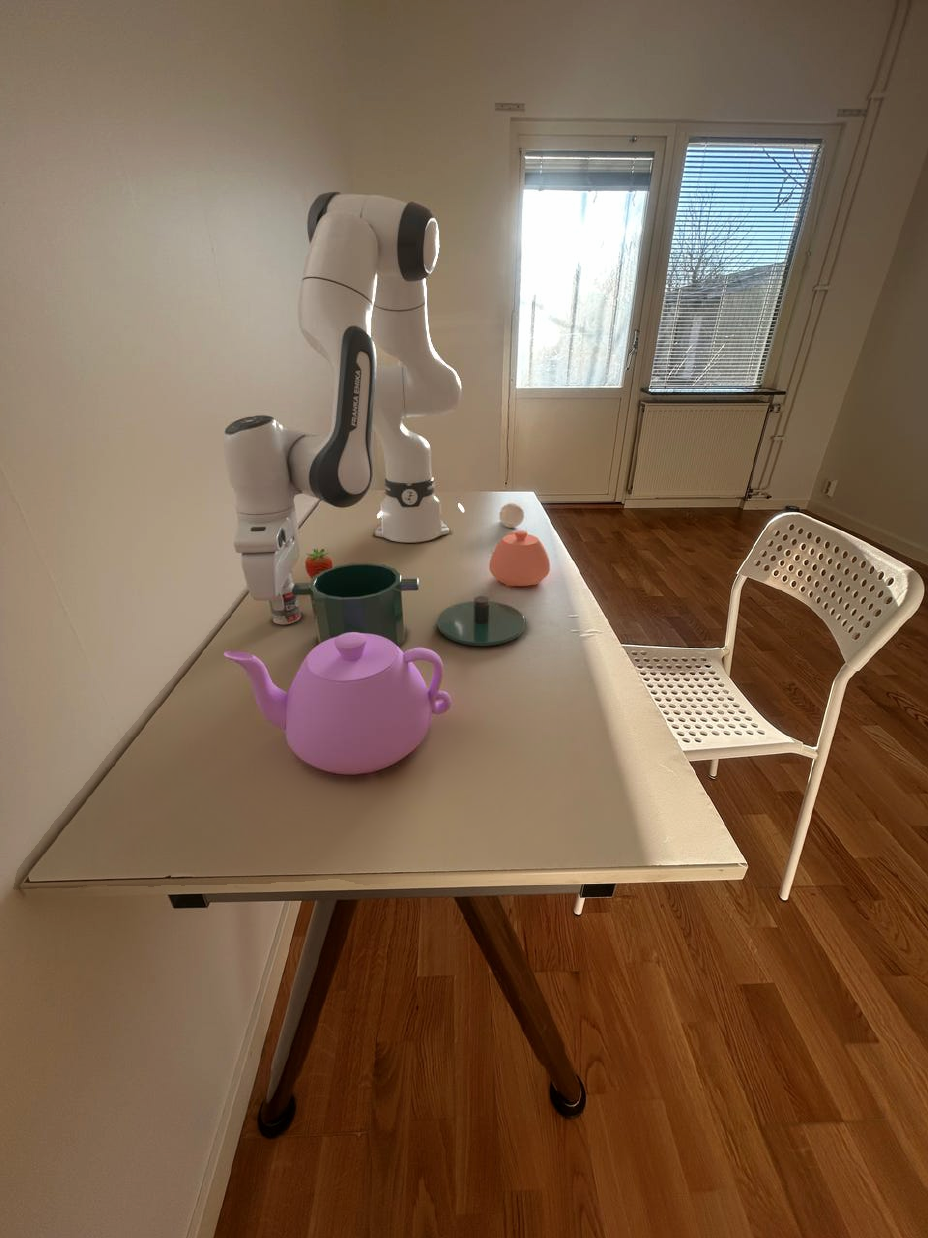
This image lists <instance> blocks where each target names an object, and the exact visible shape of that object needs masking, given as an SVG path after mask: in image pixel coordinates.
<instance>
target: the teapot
mask: <svg viewBox="0 0 928 1238" xmlns="http://www.w3.org/2000/svg"><path fill="white" fill-rule="evenodd" d="M223 655H224V657H226V658H227V659H228V660H230V661H232V662H234V663H236V664H237V665H239V666H240V667H241V668H242V669H243V670H244V671H245V673H246V674H247V676H248V678H249V680H250V683H251V686H252V690H253V693H254V699H255V702H256V705H257V707H258V710H259V712H260V714H261V715H262V716H263V718H264V719H265V720H266V721H267V722H268V723H269V724H271V725H272V726H274V727H276V728H278V729H279V730H281V731H283V732H284V733H285V739H286V742H287V745H288V747H290V749H291V750H292V752H293V753H294V754H295V755H296V756H297V757H298V758H299V759H300V760H302V761H303V762H304V763H306V764H308V765H309V766H312V767H314V768H316V769H318V770H322V771H325V772H328V773H333V774H337V775H346V776H348V775H349V776H350V775H351V776H354V775H355V776H356V775H363V774H370V773H374V772H377V771H380V770H381V771H382V770H383V769H386V768H388V767H391V766H393V765H394V764H397V763H398V762H399V761H401V760H402V759H404V758H406V757H407V756H408V755H409V754H410V753H411V752H413V751H414V750H415V749H416V748H417V747H418V746H419V745H420V743H422V741H423V740H424V739H425V737H426V736H427V734H428V731H429V729H430V727H431V724H432V720H433V714H434V715H442V714H444V713H446V712H448V711H449V710H450V708H451V705H452V697H451V695H450V694H449V693H448V692H447V691H444V690H440V688H441V684H442V681H443V676H444V663H443V660H442V658H441V657H440V655H439V654H438V653H437V652H435V651H434V650H432V649H430V648H425V647H414V648H410V649H408V650H405V651H404V652H403V650H402V649H401V648H400V646H399V647H398V646H396V645H395V644H394V643H393V642H392V641H390V640H388V639H386V638H384V637H382V636H379V635H374V634H366V633H357V632H350V633H345V634H342V635H340V636H338V637H334V638H331V639H329V640H326V641H324V642H322V643H321V644H319V643H318V645H316V646H315V647H314V648H312V649H311V650H310V651H309V652H308V654H307V655H306V657H305V658H304V659H303V661H302V663H301V665H300V666H299V668H298V670H297V673H296V674H295V677H294V678H293V680H292V682H291V684H290V688H289V690H288V691H285V690H283V689H281V688H279V687H278V686H277V685H276V684H275V683H274V682H273V680H272V678H271V676H270V674H269V671H268V669H267V667H266V666H265V664H264V662H263V661H262V660H261V659H260V658H258V657H257V656H255V655H254V654H251V653H248V652H244V651H240V650H239V651H238V650H227V651H224V652H223ZM416 661H424V662H425V661H426V662H429V663H431V664H432V665H433V675H432V679H431V681H430V685H429V688H428V686H427V684H426V682H425V680H424V678H423V676H422V674H421V673H420V671H419V670H418V668H417V667H416V665H415V664H414V663H413V662H416ZM439 700H442V701H439ZM437 701H439V702H437Z"/></svg>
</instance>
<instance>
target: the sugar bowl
mask: <svg viewBox="0 0 928 1238" xmlns="http://www.w3.org/2000/svg"><path fill="white" fill-rule="evenodd" d="M488 566H489V567H488V569H489V571H490V573H491V575H492V576H493V578H495V580H497V581H498V582H500V583H502V584H504V585H505V587H509V588H512V587H527V586H537V585H538V584H539V583H541V582H542V581H543V580H544V579H545V578H547V576H548V575H549V574H550V571H551V563H550V558H549V554H548V553H547V550H546V549H545V547H544V545H543V543H542V541H541V540H540V539H539V537H537V536H535V535H533V534H528V531H527V530H522V529H519V530H515V531H514V530H513V531H510V532H509V533H508V534H507V535H505V536H503V537H502V538H501V539H500V541H499V542H498V544H497V545H496V547H495V548H494V549H493V552H492V553H491V557H490V560H489V565H488Z"/></svg>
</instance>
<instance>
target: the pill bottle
mask: <svg viewBox="0 0 928 1238" xmlns="http://www.w3.org/2000/svg"><path fill="white" fill-rule="evenodd" d="M294 584H295V583H293V576H292V577H291V574H289V576H288V578H287V580H286V582H285V583H284V585H283V587H282V592H281V594H282V597H284V599H285V604H286V605H285V607H284V610H282V611H275V610H273V606H272V602H271V601H270V600H268V604H269V608H270V612H271V618H272V621H273V622H274V623H275V624H277V625H284V626H285V625H291V624H293V623H295V622H297V621H299V620H300V619H301V611H300V605H299V599H298V595H293V593H292V588H293V586H294Z"/></svg>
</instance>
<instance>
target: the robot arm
mask: <svg viewBox="0 0 928 1238" xmlns="http://www.w3.org/2000/svg"><path fill="white" fill-rule="evenodd" d="M307 213H308V214H307V221H306V226H307V227H306V228H307V230H306V231H307V238H308V242H309V248H308V251H307V255H306V259H305V263H304V266H303V273H302V278H301V281H300V289H299V294H298V305H297V306H298V307H297V318H298V326H299V330H300V331H301V333H302V335H303V337H304V338H305V341H306V342H307V343H308V344H309V346H310V347H311V348H312V349H313V350H314V351H316V353H318V354H319V356H321V357H323V358H324V359H326V361H327V362H328V364H329V365H330V367H331V370H332V373H333V397H332V407H331V408H332V409H331V419H330V420H331V421H330V430H329V433H328V434H327V436H326V437H324V436H320V435H316V434H312V433H311V434H310V433H308V432H307V433H306V432H303V431H300V430H297V429H294V428H291V427H289V426H287V425H285V424H283V423H282V422H279V421H277V420H276V419H275V417H273V416H271V415H265V414H260V415H258V414H257V415H254V416H245V417H242V418H239V419H236V420H235V421H232V422H231V423H230V424H228V425H227V427H226V428H225V430H224V434H223V451H224V459H225V465H226V471H227V475H228V480H229V484H230V485H231V487H232V488H233V491H234V495H235V512H236V516H237V526H236V528H237V529H236V532H235V535H234V538H233V548H234V551H235V553H237V554H241V555H240V562H241V568H242V572H243V576H244V580H245V583H246V586H247V590H248V593H249V595H250V597H251V599H253V600H254V601H256V602H260V601H261V602H262V601H263V602H264V601H269V600H270V601H271V602H272V606H273V610H275V611H282V610H284V607H285V605H286V604H285V599H284V597H282V594H281V592H282V587H283V585H284V583H285V582H286V580H287V578H288V576H289V574H291V577H292V578H293V569H294V567H295V566H296V564H297V562H298V560H299V558H300V555H301V547H300V543H299V538H298V534H299V532H300V530H299V529H300V528H299V525H298V523H299V522H298V518H297V512H296V505H295V497H296V496H298V495H305V496H308V497H312V498H316V499H318V500H320V501H323V502H324V503H326V504H329V505H331V506H333V507H335V508H340V509H345V508H349V507H352V506H354V505H356V504H358V503H359V502H360V501H361V500H362V499H363V498H364V497H365V496H366V495H367V493H368V492H369V489H370V488H371V485H372V481H373V476H374V465H373V455H372V431H374V432H375V434H376V436H377V438H378V439H379V442H380V445H381V448H382V454H383V459H384V460H383V461H384V467H385V477H386V478H384V491H385V492H384V493H385V494H386V495H385V498H384V499H383V500H382V501H381V502H380V511H379V512H378V514H376V516H377V519H379V518H380V520H381V521H380V522H381V523H380V525H378V527H377V528H376V530H375V531H374V535H375V536H376V537H381V538H385V539H387V540H389V541H392V542H396V543H405V544H406V543H409V544H410V543H423V542H428V541H431V540H435V539H436V538H438V537H440V536H444V535H447V534H449V533H450V528H448V526H447V525H446V524H445V523H444V521H443V520H442V507H441V505H442V504H441V501H440V500H439V499H438V498H437V497H436V495H435V478H434V477H433V471H432V449H431V445H430V443H429V442H428V441H427V440H426V439H425V437H423V436H421V435H419V434H417V433H415V432H413V431H411V430H409V429H408V428H407V427H406V426H405V425H404V422H403V420H404V419H407V418H408V419H409V418H437V417H441V416H446V415H449V414H453V413H454V412H455V411H456V409H457V408H458V406H459V404H460V402H461V399H462V393H463V392H462V391H463V389H462V383H461V380H460V378H459V375H458V374H457V372H456V371H455V369H453V368H452V367H451V366H450V365H448V364H446V362H444V361H443V359H441V357H440V356H439V355H438V353H437V352H436V351H435V348H434V347H433V344H432V342H431V337H430V330H429V323H428V306H427V305H428V304H427V284H426V279H427V278H428V276H429V275H431V274H432V272H433V271H434V269H435V266H436V264H437V259H438V255H439V248H440V239H439V238H440V235H439V226H438V222H437V220H436V218H435V217H434V216H435V215H433V213H432V211H431V210H430V209H429V208H427V207H426V206H424V205H421V204H420V203H416V202H414V201H408V202H407V201H404V200H400V199H397V198H394V197H389V196H386V195H380V194H375V193H374V194H370V195H369V194H360V193H341V192H339V191H327V192H323V193H321V194H319V195H318V196H317V197H316V198H315V199H314V201H313V202H312V204H311V205H310V207H309V210H308V212H307ZM372 333H373V334H372ZM372 335H373V337H374V340H375V341H376V344H377V345H378V346H379V347H380V348H381V350H383V351H384V352H385V353H386V354H388V355H390V356H392V357H394V358H396V359H397V360H399V361H401V363H403V364H377V351H376V350H377V349H376V346H375V342H374V340H373V338H372ZM458 508H459V509H460V511H461V512H462V513H465V509H464V507H463V505H462V504H461V503H458Z"/></svg>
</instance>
